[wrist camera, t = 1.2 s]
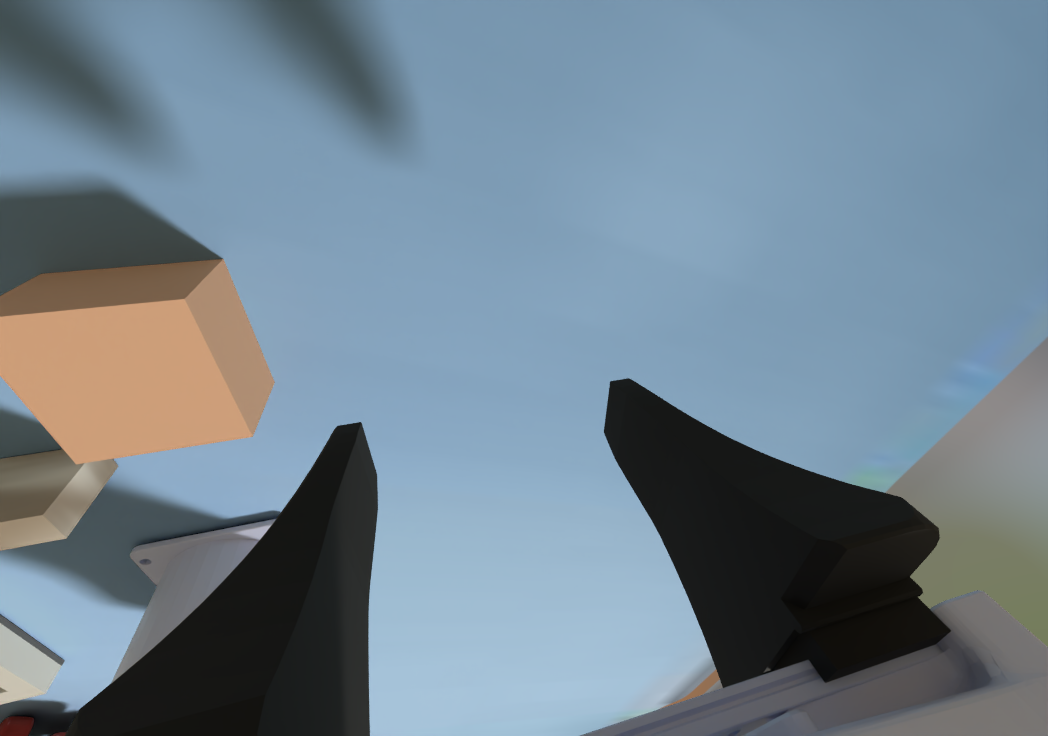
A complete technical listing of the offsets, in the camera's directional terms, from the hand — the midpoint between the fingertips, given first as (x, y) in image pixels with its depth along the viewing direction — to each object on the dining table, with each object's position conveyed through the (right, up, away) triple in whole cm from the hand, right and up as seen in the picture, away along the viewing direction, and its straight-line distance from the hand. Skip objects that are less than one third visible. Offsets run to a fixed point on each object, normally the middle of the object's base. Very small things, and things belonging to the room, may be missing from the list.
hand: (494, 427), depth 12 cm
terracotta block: (-14, +3, +6) cm, 15 cm away
